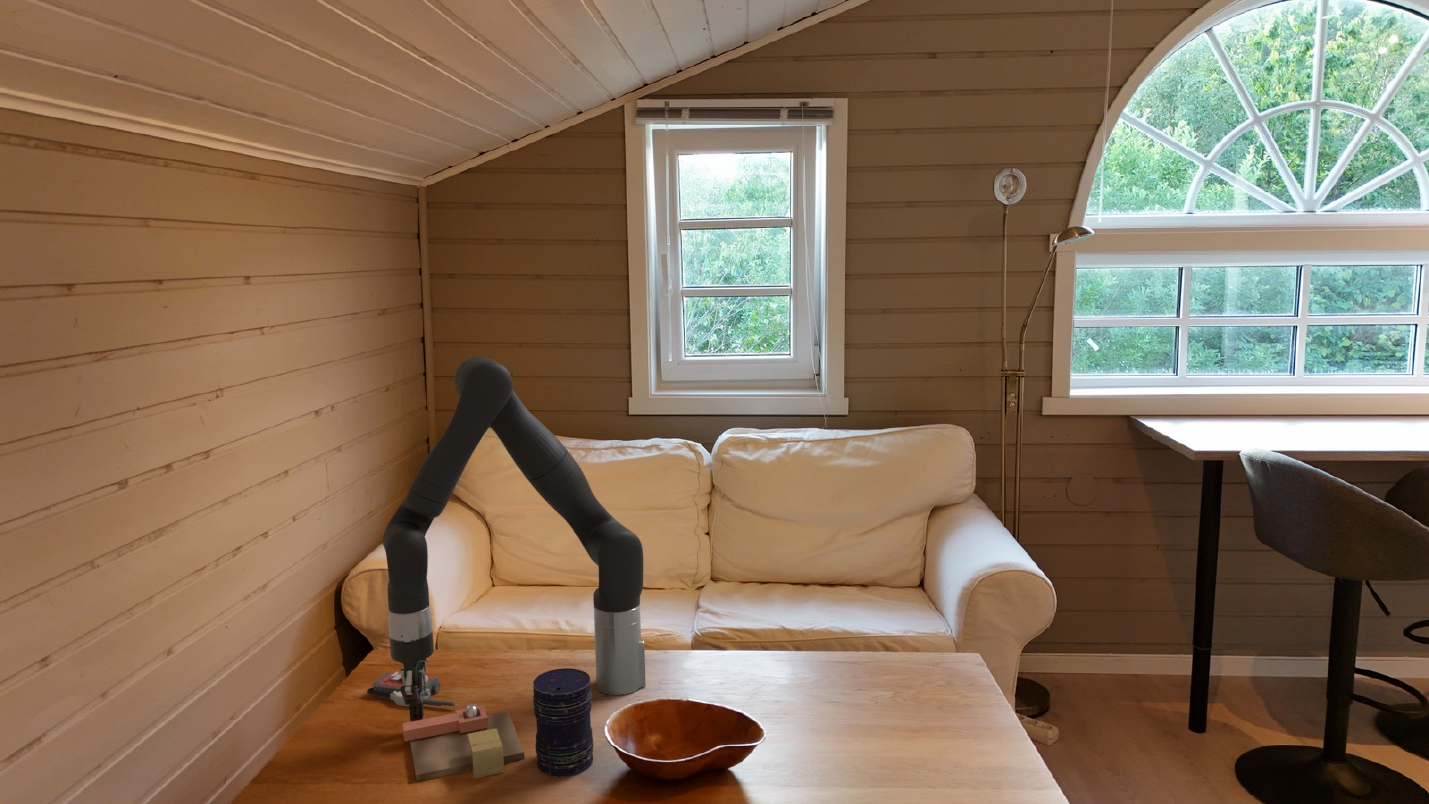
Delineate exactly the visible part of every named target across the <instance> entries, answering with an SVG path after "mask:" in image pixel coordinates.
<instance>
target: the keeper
mask: <svg viewBox="0 0 1429 804" xmlns="http://www.w3.org/2000/svg"><path fill="white" fill-rule="evenodd" d="M467 738H468V742H469V745H470V749H471V761H472V770H471V772H472V775H473V779H478V778H479V779H480V778H483V777H489V776H492V775H497V774H502V773H505V765H504V764H505V763H504V759H503V745H502V742H501V740H500V737H499V734H498V731H497V728H495V729H490V730H485V731H480V732H475V733H470V734H467Z"/></svg>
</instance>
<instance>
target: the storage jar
mask: <svg viewBox="0 0 1429 804" xmlns="http://www.w3.org/2000/svg"><path fill="white" fill-rule="evenodd" d="M532 684H533V685H532V689H533V696H532V697H533V699H532V700H533V701H532V703H533V704H532V705H533V713H534V717H535V721H536V722H535V723H536V725H535V726H536V733H535V755H536V766H537V768H536V769H538V771H539V772H540V773H541V774H543V775H545V776H547V777H551V778H559V779H560V778H561V779H562V778H569V777H574V776H578V775H580V774H583V773H585V772H586V771H587V770H589V769H590V768H591V767H592V765H593V763H594V754H593V753H594V738H593V728H592V725H591V711H592V706H593V704H592V703H593V702H592V690H591V677H590V674H588V673H587V672H586V671H584V670H581V669H577V668H572V667H570V668H569V667H568V668H567V667H566V668H562V667H561V668H555V669H551V670H547V671H545V672H543V673H540V674H539V675H537V676H536V677H535V678H534V680H533V682H532Z"/></svg>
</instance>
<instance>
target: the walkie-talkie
mask: <svg viewBox="0 0 1429 804" xmlns="http://www.w3.org/2000/svg"><path fill="white" fill-rule="evenodd" d="M401 686H403V680H402V679H401V672H399V671H395V672H394V671H393V672H391V671H390V672H385V673H384V674H382V675H381V676H379V678H377V679H376V680H374V681H373V683H372V687H369V688H368V689H367V691H366V692H367V694H368V695H372V696H374V698H378V699H379V698H381V699H388V700H391V701H393V702H394V703H395V704H396V705H397V706H403V707H409V705H406V704H405V701H404V699H403V696H402V694H401V691H400V688H401ZM425 686H426V688H425V690H424V697H423V706H424V705H426V706H435V707H441V706H447V707H455V706H456V704H455V702H454V701H446V700H437V699H429V698H431V696H432V695H434V694H435V693H439V691H440V690H441V683H440V682H439V677H438V676H437V677H436V676H429V675H428V674H427V673H426V683H425Z"/></svg>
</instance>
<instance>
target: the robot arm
mask: <svg viewBox="0 0 1429 804" xmlns="http://www.w3.org/2000/svg"><path fill="white" fill-rule="evenodd" d="M454 386H455V389H456V393H457V395H458V396H459V400H458V403H457V406H456V409H455V411H454V414H453V416H452V418H451V421H450V422H449V424H448V426H447V428H446V429H445V431H444V433H443V434H442V436H441V437H440V439H439V440H438V441H437V443H436V444H435V445H434V446H433V448H432V449H431V450H430V452H429V453H428V455H427V456H426V457H425V459H423V460H424V461H423V462H422V463H421V465H420V467H419V469H418V470H417V473H416V475H415V477H414V478H413V481H412V483H411V485H410V487H409V489H408V490H407V493H406V496H405V498H404V499H403V501H402V502H401V504H400V505H399V506H398V507H397V509H396V510H395V512H394V514H393V515H392V516H391V519H389V522H388V524H387V526H386V528H385V530H384V532H383V537H382V545H383V546H382V547H383V548H384V551H385V558H386V565H387V573H388V574H387V575H388V583H387V602H388V621H387V624H388V636H389V649H390V651H389V652H390V657H391V659H392V660H393V661H395V662H397V663H400V664H402V667H401V668H400V673H401V679H402V680H403V686H401V688H400V691H401V694H402V696H403V699H404V701H405V704H406V705H409V706H408V707H409V709H408V710H409V719H410V722H412V721H417V720H422V719H424V716H425V711H424V709H425V708H424V705H423V697H424V690H425V688H426V686H425V683H426V674H427V667H428V666H427V662H428V660H427V659H428V658H429V657H431V656H432V654H433V653H434V651H435V643H434V632H433V631H434V629H433V617H432V611H431V607H430V606H431V605H430V592H429V590H430V589H429V583H428V565H429V554H428V543H427V539H426V535H427V532H428V531H429V528H430V527H431V525H432V523H433V521H434V519H435V518H438V517H440V515H442V513H443V511H444V510H445V508H446V507H447V504H448V503H449V502H450V501H449V500H450V498H451V496H452V495H453V493H454V491H455V489H456V487H457V485H458V483H459V480H460V479H461V476H462V474H463V472H464V470H465V469H466V466H467V465H468V462H470V461H469V460H470V459H471V457H472V455H473V454H474V452H475V450H476V448H477V447H478V445H479V443H480V442H481V440H482V438H483V437H484V436H485V433H486V432H487V431H488V430H489V428H491V430H492V431H493V432H494V433H495V434H496V436H497V437H498V439H499V440H500V442H501V444H502V445H503V447H504V448H505V450H506V452H507V453H508V455H509V456H510V458H511V459H512V461H513V462H514V463H515V465H516V466H517V468H518V469H519V470H520V471H521V473H522V475H523V476H524V478H525V479H526V480H527V481H528V482H529V484H530V485H532V487H533V488H534V489H535V491H536V492H537V493H538V494H539V495H540V497H541V498H543V500H545V502H546V503H547V504H548V505H549V506H550V508H552V509H553V510H554V511H555V512H556V513H558V515H560V517H562V518H563V519H564V520H565V522H566V523H567V524H568V525H569V527H570V528H571V529H572V531H573V533H574V534H575V536H576V537H577V539H578V540H579V542H580V543H581V545H582V547H583V549H584V550H585V552H586V553H587V555H588V556H589V558H590V559H591V561H592V562H593V563H594V564H595V565H597V567H598V587H597V588H596V589H595V590H594V592H593V594H592V595H593V599H592V600H593V601H592V602H593V622H594V623H593V624H594V625H593V626H594V653H595V673H596V674H595V680H596V683H595V684H596V688H597V690H598V691H599V692H601V693H602V694H606V695H609V696H610V695H611V696H622V695H621V694H624V695H629V694H631V693H634V692H636V691H638V690H640V689H642V688H645V687H647V686H646V658H645V657H646V656H645V655H646V654H645V652H646V651H645V646H646V645H645V641H644V640H643V638H642V629H641V628H642V626H641V623H642V621H641V617H642V616H641V595H642V593H643V588H644V549H643V544H642V541H641V539H640V538H639V537H638V535H637V534H636V533H634V532H633V531H631V530H630V529H629V528H628V527H626V526H624V524H622V523H620V521H617V519H616V518H614V517H613V516H612V515H611V513H609V512H608V510H607V509H606V508H605V507H604V506H603V505H602V504H601V502H599V500H598V499H597V497H596V495H595V494H594V491H593V490H592V488H591V486H590V484H589V482H588V479H587V478H586V475H585V473H584V472H583V469H582V468H581V467H580V465H579V464H578V462H577V461H576V460H575V458H574V457H573V455H572V454H571V453H570V452H569V451H568V449H567V448H566V447H565V446H564V444H563V443H562V442H561V441H560V440H559V438H557V437H556V436H555V435H554V433H553V432H552V431H550V430H549V429H548V428H547V427H546V425H544V424H543V423H542V422H541V421H540V420H539V419H538V418H537V417H535V416H534V414H532V413H531V411H530V410H528V408H527V407H526V406H525V405H524V403H523V402H522V401H521V400H520V398H519V397H518V395H517V393H516V392H515V390H514V381H513V378H512V375H511V373H510V372H509V370H508V369H507V368H506V367H505V366H504V365H502V364H501V363H499V362H498V361H495V360H494V359H492V358H489V357H484V356H475V357H470V358H468V359H465V360H464V361H462V362H461V363H460V365H459V366H458V367H457V370H456V371H455V376H454ZM641 687H642V688H641ZM639 688H640V689H639Z"/></svg>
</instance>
